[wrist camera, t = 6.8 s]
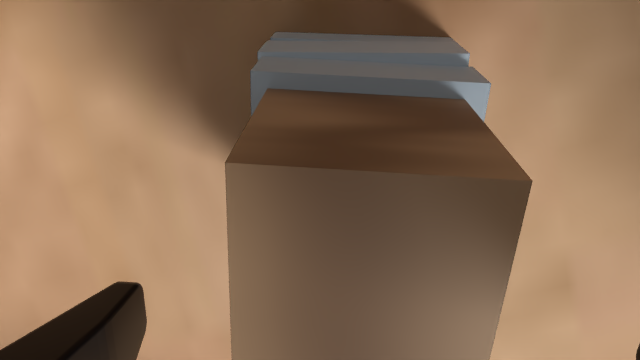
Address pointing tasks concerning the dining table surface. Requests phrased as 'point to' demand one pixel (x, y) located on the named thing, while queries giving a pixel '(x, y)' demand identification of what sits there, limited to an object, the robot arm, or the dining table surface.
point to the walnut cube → (369, 228)
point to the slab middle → (371, 51)
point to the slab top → (370, 79)
